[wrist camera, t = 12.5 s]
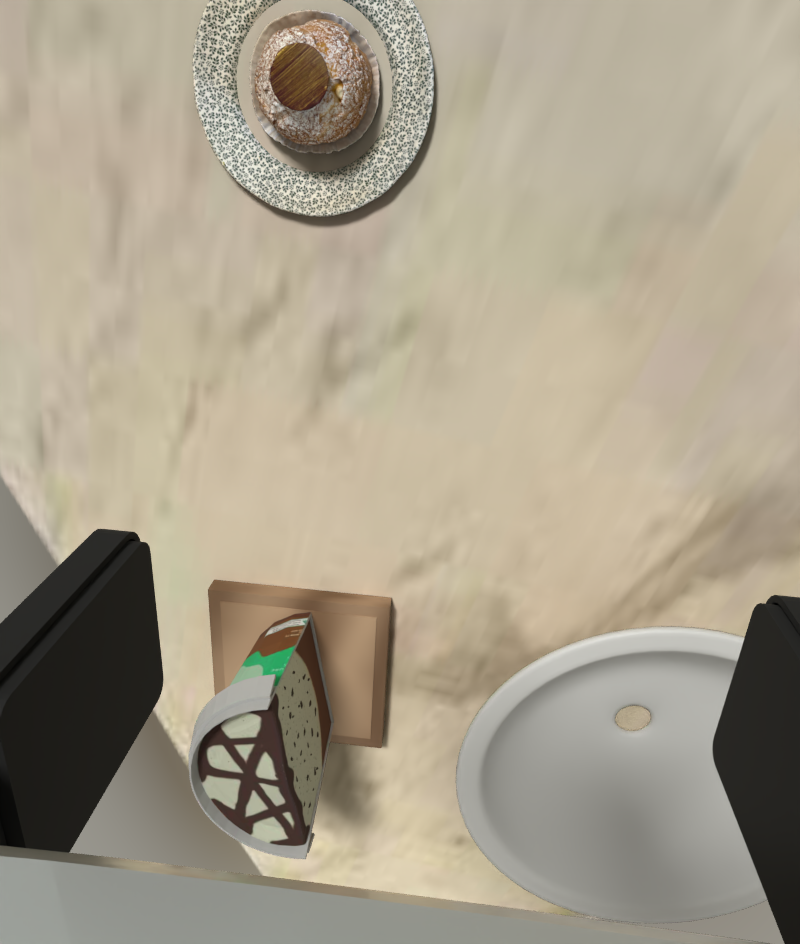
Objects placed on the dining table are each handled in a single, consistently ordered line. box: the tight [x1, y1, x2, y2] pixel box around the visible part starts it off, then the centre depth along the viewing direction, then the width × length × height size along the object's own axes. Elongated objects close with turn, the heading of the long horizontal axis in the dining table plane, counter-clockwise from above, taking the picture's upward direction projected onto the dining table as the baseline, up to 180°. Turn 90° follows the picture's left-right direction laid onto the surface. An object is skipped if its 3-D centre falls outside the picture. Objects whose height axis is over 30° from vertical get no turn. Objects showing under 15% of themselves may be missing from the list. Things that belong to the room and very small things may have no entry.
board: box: [208, 580, 391, 748], centre depth 49 cm, size 12×12×1 cm
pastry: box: [192, 0, 434, 217], centre depth 34 cm, size 12×12×5 cm
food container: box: [189, 612, 334, 859], centre depth 44 cm, size 12×6×10 cm, turn 7°
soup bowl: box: [456, 626, 767, 923], centre depth 46 cm, size 24×24×7 cm
